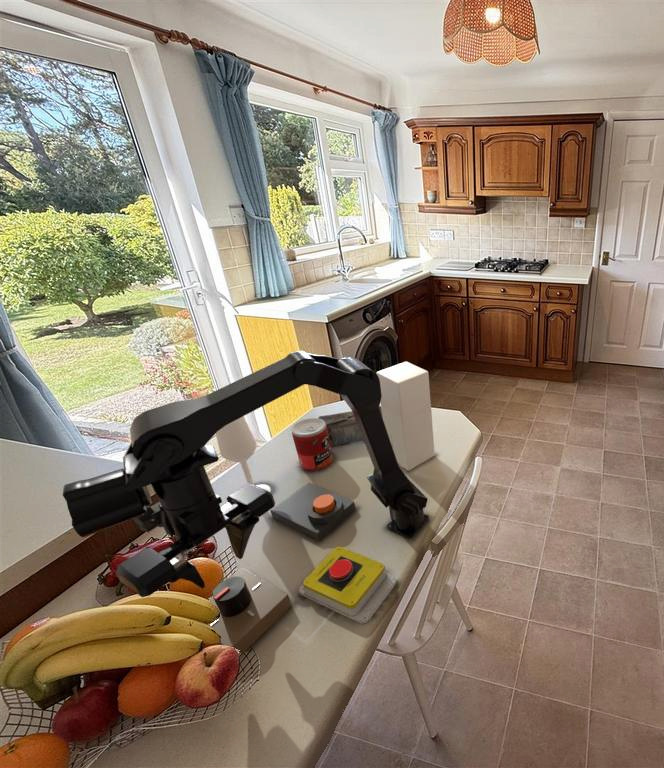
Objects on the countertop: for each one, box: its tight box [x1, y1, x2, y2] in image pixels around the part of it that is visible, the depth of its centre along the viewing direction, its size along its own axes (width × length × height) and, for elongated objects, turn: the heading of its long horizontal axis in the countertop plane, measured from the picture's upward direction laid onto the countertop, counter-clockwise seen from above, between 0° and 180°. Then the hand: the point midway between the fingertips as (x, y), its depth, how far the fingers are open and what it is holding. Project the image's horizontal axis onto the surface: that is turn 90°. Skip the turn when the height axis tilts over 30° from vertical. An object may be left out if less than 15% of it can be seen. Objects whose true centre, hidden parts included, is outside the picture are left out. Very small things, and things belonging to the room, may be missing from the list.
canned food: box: [291, 417, 334, 472], centre depth 102 cm, size 8×8×11 cm
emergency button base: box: [269, 482, 356, 542], centre depth 88 cm, size 14×10×4 cm
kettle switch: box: [313, 494, 335, 514], centre depth 85 cm, size 4×4×2 cm
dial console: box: [208, 567, 292, 655], centre depth 67 cm, size 12×10×3 cm
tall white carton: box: [376, 361, 436, 472], centre depth 102 cm, size 9×9×25 cm
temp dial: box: [212, 576, 251, 617], centre depth 66 cm, size 4×4×4 cm
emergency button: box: [298, 546, 398, 624], centre depth 72 cm, size 9×4×15 cm
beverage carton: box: [318, 405, 383, 447], centre depth 114 cm, size 8×19×7 cm, turn 111°
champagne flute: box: [215, 416, 272, 493], centre depth 88 cm, size 7×7×24 cm
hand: (221, 571), depth 63 cm, fingers open, 5 cm apart
